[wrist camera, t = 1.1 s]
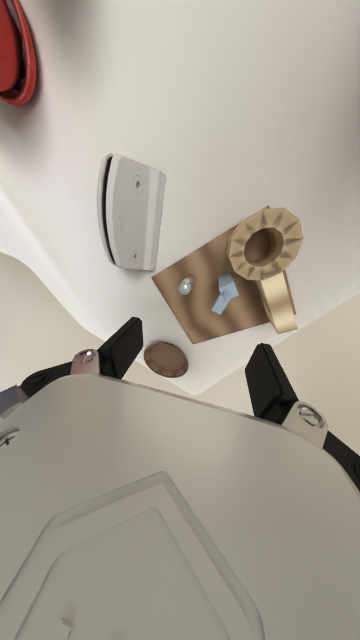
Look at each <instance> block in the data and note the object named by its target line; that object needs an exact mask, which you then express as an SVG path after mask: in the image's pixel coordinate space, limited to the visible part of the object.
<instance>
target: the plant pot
mask: <svg viewBox="0 0 360 640" xmlns="http://www.w3.org/2000/svg"><path fill="white" fill-rule="evenodd" d="M35 83H36V61H35V53H34V48H33V43H32V39H31V35H30V31H29V27H28V24H27V21H26V18H25V15H24V12H23V10H22V7H21V5H20V2H19V0H0V98H1V99H2V100H4V101H5V102H7V103H10V104H12V105H17V106H18V105H23V104H25V103H27V102H28V101H29V100H30V98H31V96H32V95H33V92H34V89H35Z"/></svg>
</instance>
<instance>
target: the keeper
mask: <svg viewBox="0 0 360 640" xmlns="http://www.w3.org/2000/svg"><path fill="white" fill-rule="evenodd" d="M218 279H219V290H220V292H221V293H220V294H219V296H218V298H217V299H216V301H215V303H214V304H213V306H212V308H211V311H213V312H215V313H218V314H220V315H221V313H222V312H223V310H224V309H225V307H226V306H227V304H228V302H229V301H230V299H231V298H233V297H236V296H238V295H239V294H238V291H237V289H236V286H235V283H234V281H233V278H232V276H231V273H230V272H229V273H227V274H225V275H222V276H220V277H218Z"/></svg>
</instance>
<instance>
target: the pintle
mask: <svg viewBox="0 0 360 640" xmlns="http://www.w3.org/2000/svg"><path fill="white" fill-rule="evenodd" d="M195 280H196V279H195V276H194V275H192V274H189V275H187V276H186V278H185V279H184V280H183V281H182V283H181V284H180V285H179V287H178V291H179V293H180V294H181V295H188V294H189V293H190V291H191V289H192V287H193V285H194V283H195Z"/></svg>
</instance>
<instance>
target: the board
mask: <svg viewBox="0 0 360 640" xmlns="http://www.w3.org/2000/svg"><path fill="white" fill-rule="evenodd" d="M264 209H270V208H269V206H267V207H266V208H264ZM257 213H258V212H257ZM236 227H237V225H236V226H235V227H233V228H231V229H230V230H228V231H227V232H225V233H223V234H222V235H220V236H218V237H217V238H215V239H214V240H212V241H210V242H209V243H207V244H205V245H204V246H202V247H201V248H199V249H197V250H196V251H194V252H192V253H191V254H189V255H188V256H186V257H184V258H183V259H181V260H179V261H178V262H176V263H175V264H173V265H171V266H170V267H168V268H166V269H165V270H163V271H162V272H160V273H158V274H157V275H155V276H153V277H152V279H153V281H154V283H155V284H156V286H157V287H158V289H159V291H160V292H161V294H162V295H163V297H164V299H165V300H166V302H167V304H168V305H169V307H170V308H171V310H172V312H173V313H174V315H175V316H176V318H177V320H178V321H179V323H180V324H181V326H182V328H183V329H184V331H185V332H186V334H187V336H188V337H189V339H190V340H191V342H192V344H196V343H200V342H203V341H206V340H210V339H213V338H217V337H220V336H223V335H227V334H230V333H234V332H237V331H240V330H244V329H247V328H251V327H254V326H257V325H261V324H264V323H268V322H270V321H269V319H268V316H267V314H266V311H265V308H264V305H263V302H262V299H261V296H260V293H259V290H258V287H257V284H256V281H255V280H246V279H245V278H244V277H242V276H241V275H239V274H238V273H236V272H235V271H234V269H233V267H232V265H231V263H230V260H229V258H228V255H227V247H228V241H229V237H230V236H231V234H232V233H233V231H234V230H235V228H236ZM269 245H270V238H269V235H268V233H266V232H265V231H264V230H262V229H260V230H258V231H256V232H254V233H253V234H252V235H251V236H250V238H249V239H248V240H247V242H246V243H245V248H244V256H245V259H246V261H256V260H258V259H260V258H262V257H263V256H264V254H265V253H266V252H267V251H268V249H269ZM229 272H230V273H231V276H232V278H233V281H234V283H235V286H236V289H237V291H238V294H239V295H238V296H236V297H233V298H231V299H230V301H229V302H228V304H227V306H226V307H225V309H224V310H223V312H222V313H221V315H220V314H218V313H215V312H213V311H211V308H212V306H213V304H214V303H215V301H216V299H217V298H218V296H219V294H220V293H221V292H220V290H219V279H218V277H220V276H222V275H225V274H227V273H229ZM282 272H283V275H284V279H285V283H286V287H287V291H288V295H289V299H290V303H291V306H292V310H293V314H294V315H295V314H296V312H295V308H294V304H293V300H292V296H291V292H290V288H289V284H288V280H287V276H286V272H285V269H284V270H283V271H282ZM189 274H192V275H194V276H195V279H196V280H195V283H194V285H193V287H192V289H191V291H190V293H189V294H188V295H181V294H180V293H179V291H178V287H179V285H180V284H181V283H182V281H183V280H184V279H185V278H186V276H187V275H189Z"/></svg>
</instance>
